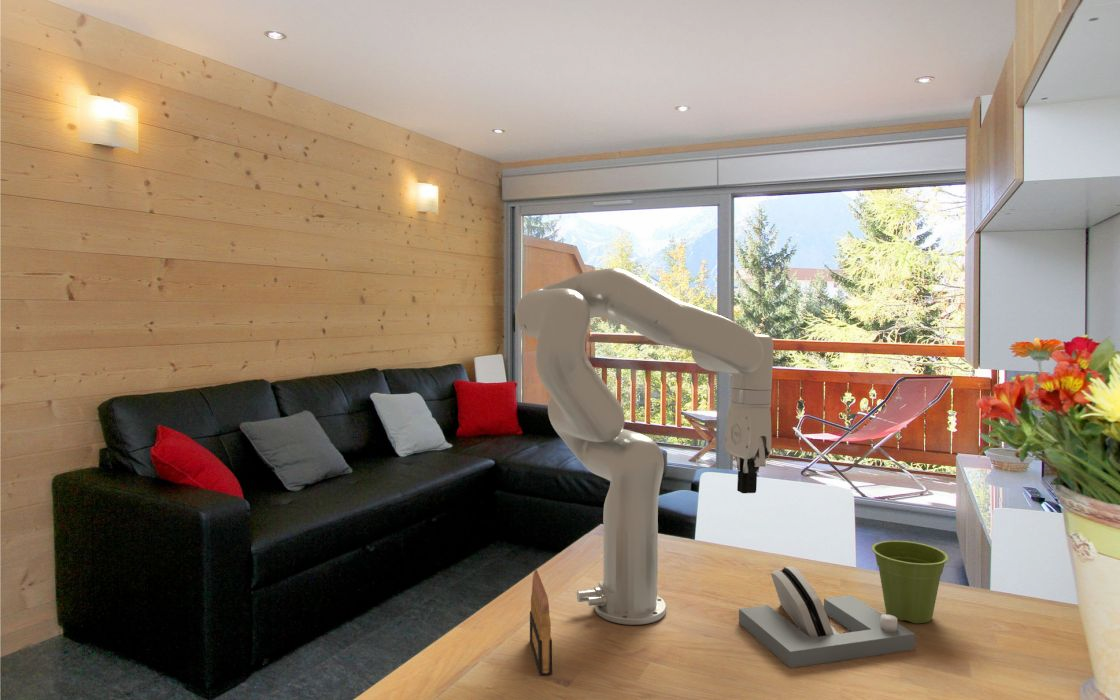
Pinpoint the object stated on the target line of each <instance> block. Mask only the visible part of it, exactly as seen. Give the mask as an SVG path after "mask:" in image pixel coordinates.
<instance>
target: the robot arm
mask: <svg viewBox="0 0 1120 700" xmlns="http://www.w3.org/2000/svg"><path fill="white" fill-rule="evenodd" d="M593 318H608V319H610V320H612V321H614V322H616V323H618V324H620V325H621V326H624V327H626V328H628V329H630V330H632V331H633V332H635V333H637V334H639V335H641V336H643V337H645V338H647V339H649V340H650V341H652V342H654V343H657V344H660V345H663V346H667V347H671V348H676V349H680V350H681V349H682V350H687V351H691V356H692V359H693V361H694V362H695V364H696V365H697V366H699V368H701V369H704V370H706V371H711V372H718V373H727V374H728V373H729V374H730V373H731V387H730V403H729V408H728V412H727V419H726V425H725V427H726V428H725V434H724V435H725V436H724V438H725V439H724V450H725V451H726V452H727V453H729V454H730V455H731V456H732V457H733V458H734V459H735V460H736V461H735V462H736V470H737V489H736V491H737V492H739V493H741V494H755V493H757V486H758V485H757V482H758V474H759V471H760V468H763V467H766V465H767V463H766V460H767V459H769V458H770V456H771V451H772V414H771V407H772V388H773V387H772V386H773V384H772V383H773V367H774V366H773V363H774V361H773V360H774V348H775V347H774V340H773V337H772V336H770V335H767V334H760V333H759V334H755V333H754V332H752V331H751V330H749V329H747V328H745V327H744V326H743V325H740V324H738V323H737V322H735V321H733V320H732V319H729V318H727V317H725V316H723V315H720V314H716V313H715V312H712V311H709V310H706V309H703V308H700V307H699V306H695V305H693V304H691V303H689V302H688V303H687V302H684V301H681V300H680V299H677V298H676V297H673V296H672V295H670V294H668V293H666V292H665V291H663V290H661V289H660V288H658V287H656V286H654V285H652V284H651V283H649V282H647V281H646V280H644V279H642V278H641V277H639V276H637V275H636V274H634V273H632V272H631V271H628V270H626V269H623V268H618V267H616V268H615V267H613V268H612V267H610V268H603V269H595V270H594V269H593V270H589V271H585V272H582V273H579V274H576V275H574V276H571V277H568V278H566V279H563V280H560V281H556V282H554V283H551V284H547V285H545V286H542V287H538V288H536V289H533V290H530V291H529V292H527V293H526V294H524V295H523V296H522V297H521V298H520V300H519V301H518V303H517V305H516V307H515V321H516V324H517V326H518V328H519V329H520V331H522V333H523V334H524V335H526V336H527V337H530V338H533V339H536V340H537V341H536V342H537V344H536V350H535V351H536V353H535V360H536V363H535V364H536V371H537V375H538V377H539V379H540V381H541V383H542V384H543V387H544V388H545V390H547V393H549V395H550V398H549V401H548V403H547V415H548V419H549V421H550V424H551V427H552V428H553V429H554V431H555V432H556V434H557V435H558V436H559V437H560V439H562V441H563V442H564V444H565V445H566V446H567V447H568V448H569V450H570V451H571V453H573V455H574V456H575V457H576V459H577V460H578V461H579V462H580V463H581V464H582V465H583V467H584V468H585V469H587V471H588V472H591V473H592V474H594V475H595V476H598V477H600V478H603V479H605V480H607V481H609V483H610V484H609V488H608V491H607V494H606V497H605V500H604V504H603V515H602V516H603V517H602V518H603V519H602V520H603V521H602V522H603V579H602V580H599V581H598V585H597V586H594V587H593V589H579V590H577V591H576V599H577V603H583V602H587V605H588V606H589V607H592V606H594V610H595V612H596V614H597V615H598V616H600V617H601V618H602V619H604V620H606V621H609V622H611V623H615V624H620V625H621V624H622V625H626V626H627V625H629V626H635V625H636V626H638V625H639V626H640V625H646V624H651V623H655V622H658V621H659V620H661V619H662V618H663V617H664V616H665V615H666V613H667V603H666V602H665V600H664V599H663V598H662V597H660V596H659V595H658V573H659V572H658V570H659V569H658V568H659V567H658V566H659V565H658V563H659V562H658V560H659V559H658V558H659V557H658V556H659V555H658V553H659V551H658V550H659V549H658V548H659V547H658V545H659V544H658V543H659V542H658V541H659V536H658V535H659V534H658V533H659V532H658V531H659V522H658V518H659V517H658V516H659V512H658V511H659V496H660V490H661V489H660V488H661V484H662V479H663V474H664V469H665V468H664V467H665V463H664V462H665V461H664V455H663V452H662V450H661V448H660V447H659V445H658V444H657V442H656V441H654V440H653V439H652V438H651V437H649V436H647V435H645V434H642V433H640V432H637V431H636V432H635V431H633V430H629V429H625V428H624V427H625V421H626V417H625V412H624V409H623V407H622V405H621V403H620V401H619V400H618V398H617V396H615V395H614V393H613V392H612V390H611V388H609V387H608V386H607V384H606V383H605V381H604V380H603V379H602V377H601V376H600V374H599V373H597V371H596V369H595V367H594V366H593V365H592V363H591V361H590V360H589V359H588V355H587V352H586V351H587V350H586V338H587V333H588V330H589V328H590V327H589V326H590V321H591V319H593Z"/></svg>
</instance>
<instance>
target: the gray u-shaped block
mask: <svg viewBox="0 0 1120 700" xmlns="http://www.w3.org/2000/svg"><path fill="white" fill-rule="evenodd" d="M823 607H824V610H825V612H826V615H827V617H828V616H829V617H830V618H831V619H833V620H834V621H835V622H837V623H838V624H840V625H842V626H843V627H845V628H846V629H847V630H849V632H843V633H838V634H834V635H827V636H820V637H813V638H810V637H809V636H808V635H806V634H805V633H804V632H802V631H801V630H800V629H799V628H798V627H797V625H796V624H793V623H792V622H791V621H790V620H788V619H787V618H786V617H784V616H783V615H781V614H780V613H779V612H777V610H775V608H773V607H771V606H770V605H767V604H766V605H759V606H753V607H752V606H750V607H743V608H742V607H741V608H738V624H739V625H740V626H741V627H742V628H744V629H745V630H746V631H747V632H748V633H750V634H751V635H752V636H753V637H754V638H755V639H756V640H757V641H758V642H760V643H761V644H762V645H763V646H764V647H765V648H767V649H768V651H770V652H771V653H772V654H773V655H774V656H775V657H776V658H778V659H779V660H780V661H781V662H783V664H785V665H786V666H787V667H788V668H789V669H793V668H799V667H808V666H814V665H819V664H828V663H833V662H839V661H840V662H841V661H848V660H854V659H859V658H868V657H873V656H881V655H887V654H893V653H894V654H895V653H900V652H908V651H915V650H916V633H915V632H913V631H911V630H909V629H908V628H907V627H904V626H903V625H901V624H900V623H898V619H897V618H896V617H895V616H893V615H889V614H888V613H881V612H880V611H878V610H876V609H875V608H873V607H871V606H870V605H868V604H866V603H865V602H863V601H862V600H860V599H858V598H857V597H855V596H853V595H852V594H849V595H842V596H834V597H833V596H832V597H825V598H823Z"/></svg>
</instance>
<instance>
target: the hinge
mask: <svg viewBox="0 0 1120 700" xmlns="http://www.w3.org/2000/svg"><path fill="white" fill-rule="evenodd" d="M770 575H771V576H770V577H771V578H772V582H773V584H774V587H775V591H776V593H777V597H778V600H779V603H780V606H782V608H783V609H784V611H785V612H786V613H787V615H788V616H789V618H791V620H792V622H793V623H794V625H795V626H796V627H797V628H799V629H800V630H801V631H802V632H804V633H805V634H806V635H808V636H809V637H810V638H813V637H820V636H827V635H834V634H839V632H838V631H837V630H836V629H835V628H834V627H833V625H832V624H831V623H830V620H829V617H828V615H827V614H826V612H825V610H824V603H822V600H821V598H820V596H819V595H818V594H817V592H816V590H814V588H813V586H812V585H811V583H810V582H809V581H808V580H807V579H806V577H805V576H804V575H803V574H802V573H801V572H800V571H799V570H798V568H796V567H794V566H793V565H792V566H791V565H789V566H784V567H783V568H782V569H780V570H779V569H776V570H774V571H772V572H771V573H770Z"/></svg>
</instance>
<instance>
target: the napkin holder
mask: <svg viewBox="0 0 1120 700" xmlns="http://www.w3.org/2000/svg"><path fill="white" fill-rule="evenodd" d="M543 584H544V583H543V582H542V579H541V577H540V575H539V572H538V569H535V570H534V572H533V574H532V587H531V595H530V611H529V644H530V647H531V650H532V654H533V657H534V661H535V665H536V668H537V671H538V675H539V676H548V675H549V676H550V675H552V674H553V639H552V636H551V635H552V634H551V633H552V632H551V631H552V630H551V617H550V605H549V604H550V603H549V598H548V594H547V592H546V590H545V587H544V585H543Z"/></svg>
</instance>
